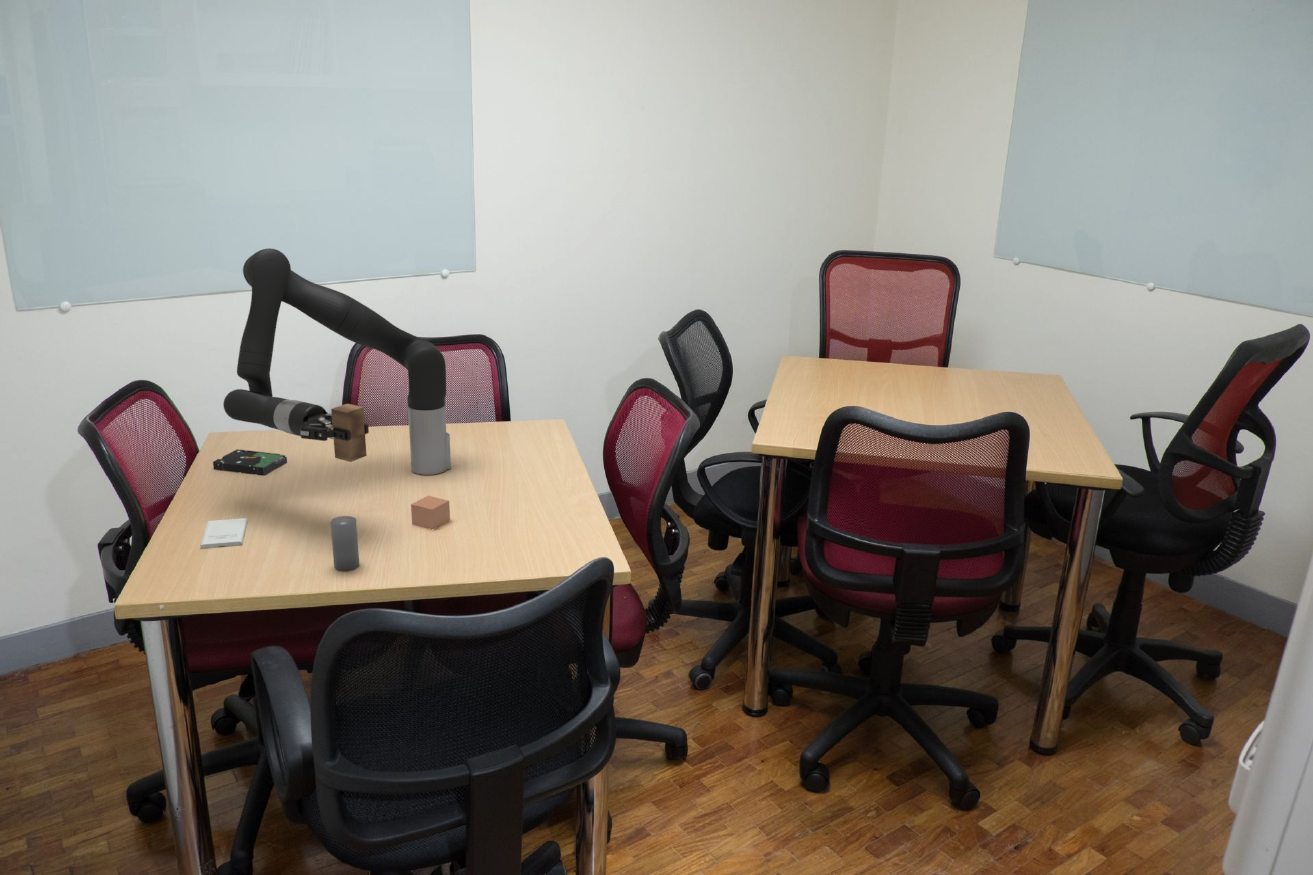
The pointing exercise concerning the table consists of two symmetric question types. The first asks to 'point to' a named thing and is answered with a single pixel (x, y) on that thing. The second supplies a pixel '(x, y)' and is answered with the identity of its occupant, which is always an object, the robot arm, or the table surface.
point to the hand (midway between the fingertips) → (358, 432)
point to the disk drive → (250, 462)
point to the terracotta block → (430, 512)
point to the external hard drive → (224, 533)
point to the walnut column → (354, 422)
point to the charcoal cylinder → (345, 543)
